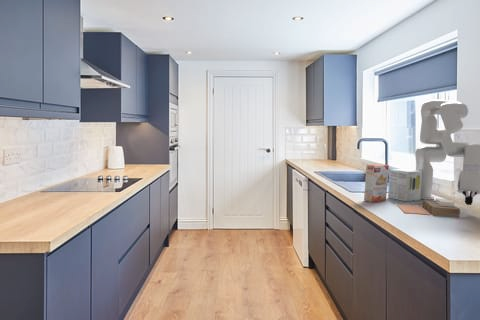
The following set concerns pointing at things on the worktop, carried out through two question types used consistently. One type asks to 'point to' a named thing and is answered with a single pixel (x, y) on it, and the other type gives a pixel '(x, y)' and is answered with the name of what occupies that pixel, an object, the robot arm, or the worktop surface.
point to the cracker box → (376, 182)
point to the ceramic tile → (444, 202)
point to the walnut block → (440, 209)
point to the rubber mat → (413, 209)
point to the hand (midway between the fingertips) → (468, 204)
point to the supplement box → (405, 184)
